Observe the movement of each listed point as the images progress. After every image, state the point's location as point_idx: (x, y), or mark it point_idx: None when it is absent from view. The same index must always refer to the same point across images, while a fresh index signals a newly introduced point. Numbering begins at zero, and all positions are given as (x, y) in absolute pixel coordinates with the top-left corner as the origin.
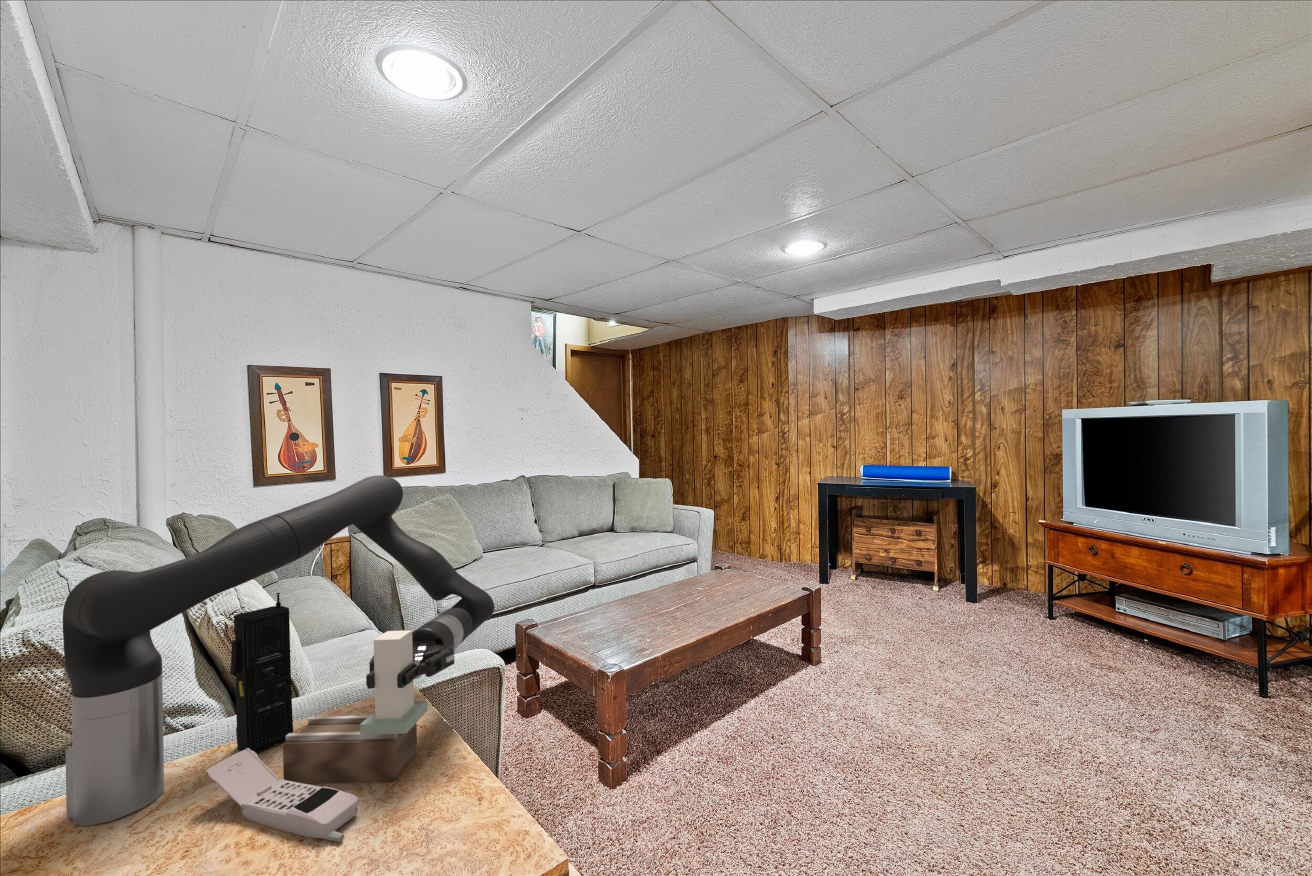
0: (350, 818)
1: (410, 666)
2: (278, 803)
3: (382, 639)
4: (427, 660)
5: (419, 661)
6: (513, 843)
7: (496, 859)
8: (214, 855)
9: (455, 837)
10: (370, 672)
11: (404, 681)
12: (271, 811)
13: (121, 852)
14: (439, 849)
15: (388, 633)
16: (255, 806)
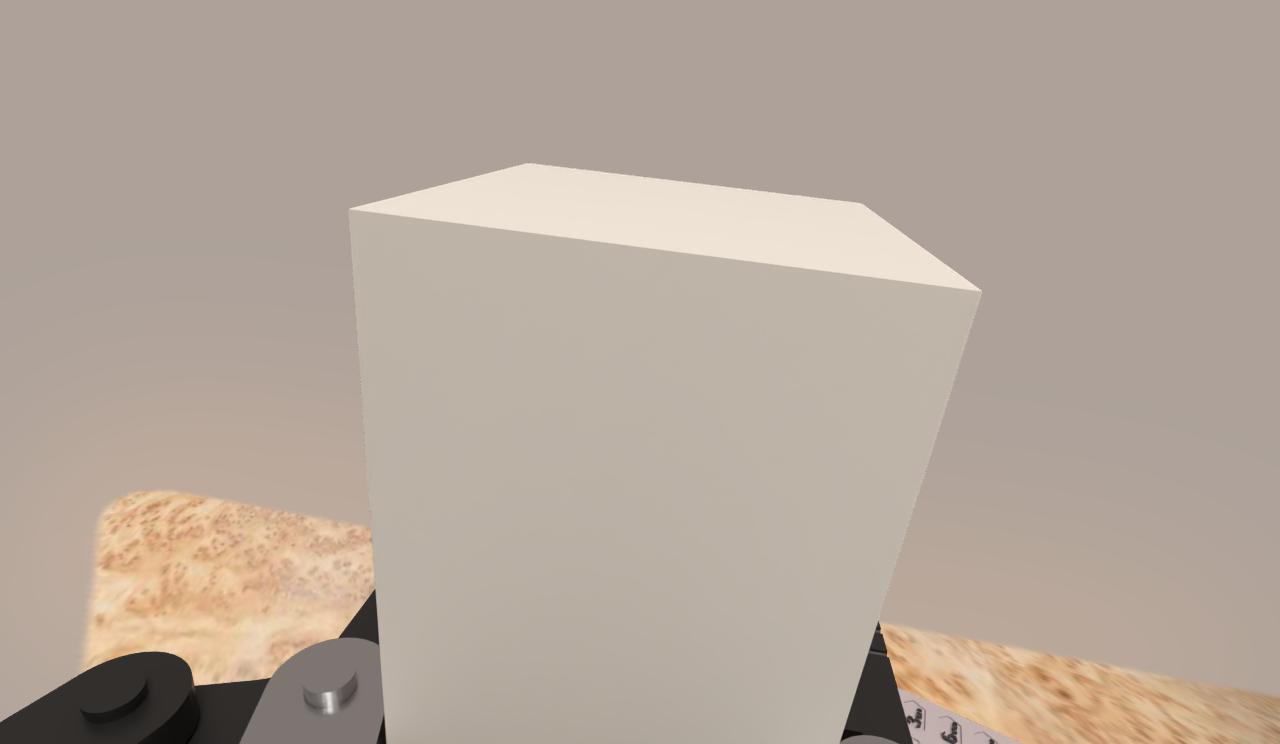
0: None
1: None
2: (923, 727)
3: (749, 193)
4: (150, 700)
5: (283, 693)
6: (166, 539)
7: (229, 513)
8: (955, 661)
9: (304, 584)
10: (882, 651)
11: None
12: (907, 692)
13: (1271, 730)
14: (353, 560)
15: (823, 242)
16: (1003, 735)
